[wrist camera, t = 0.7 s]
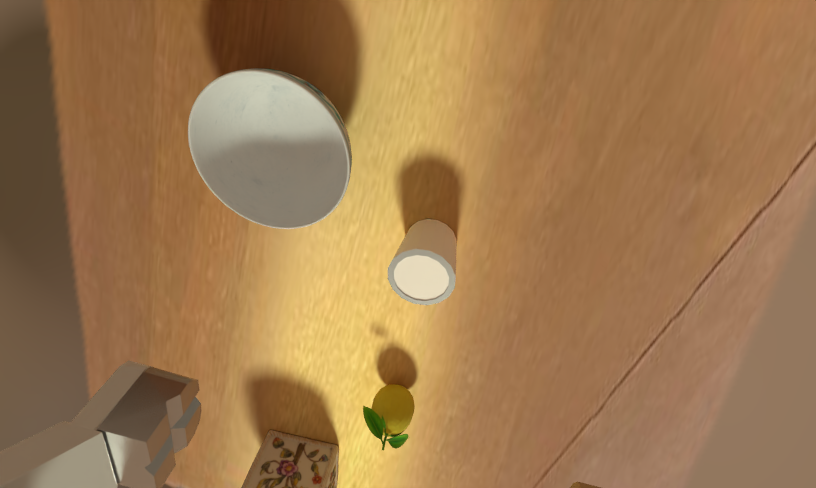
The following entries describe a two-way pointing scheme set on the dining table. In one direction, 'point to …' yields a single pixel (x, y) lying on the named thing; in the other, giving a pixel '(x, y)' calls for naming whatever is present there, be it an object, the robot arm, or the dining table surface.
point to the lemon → (390, 414)
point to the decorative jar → (293, 463)
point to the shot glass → (425, 263)
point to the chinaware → (270, 147)
